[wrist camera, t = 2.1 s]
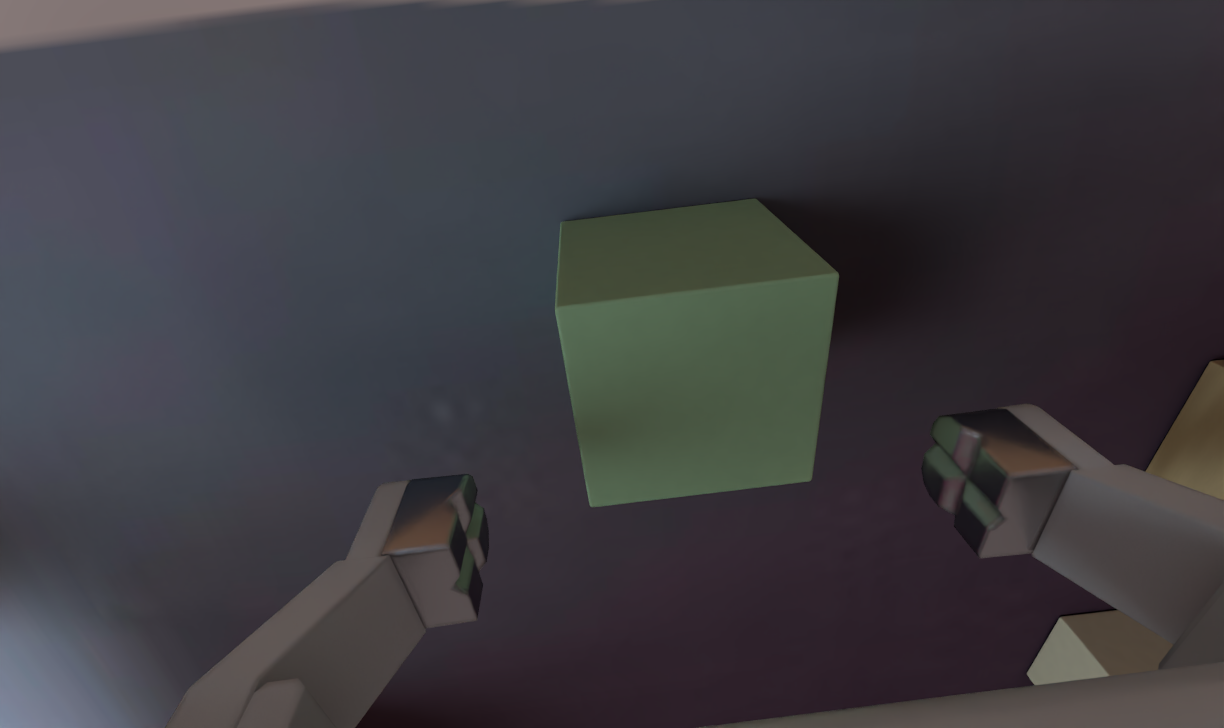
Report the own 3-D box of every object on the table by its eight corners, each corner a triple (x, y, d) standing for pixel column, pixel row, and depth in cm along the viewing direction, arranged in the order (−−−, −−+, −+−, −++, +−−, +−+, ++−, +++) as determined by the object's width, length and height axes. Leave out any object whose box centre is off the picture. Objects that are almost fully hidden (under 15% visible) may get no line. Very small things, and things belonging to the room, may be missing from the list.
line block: (1059, 616, 25) (1160, 737, 20) (1166, 603, 25) (1290, 722, 20) (1025, 673, 27) (1109, 791, 23) (1122, 661, 27) (1223, 778, 23)
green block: (560, 221, 13) (554, 307, 9) (756, 197, 13) (841, 273, 9) (585, 383, 16) (590, 509, 12) (749, 364, 16) (812, 481, 12)
